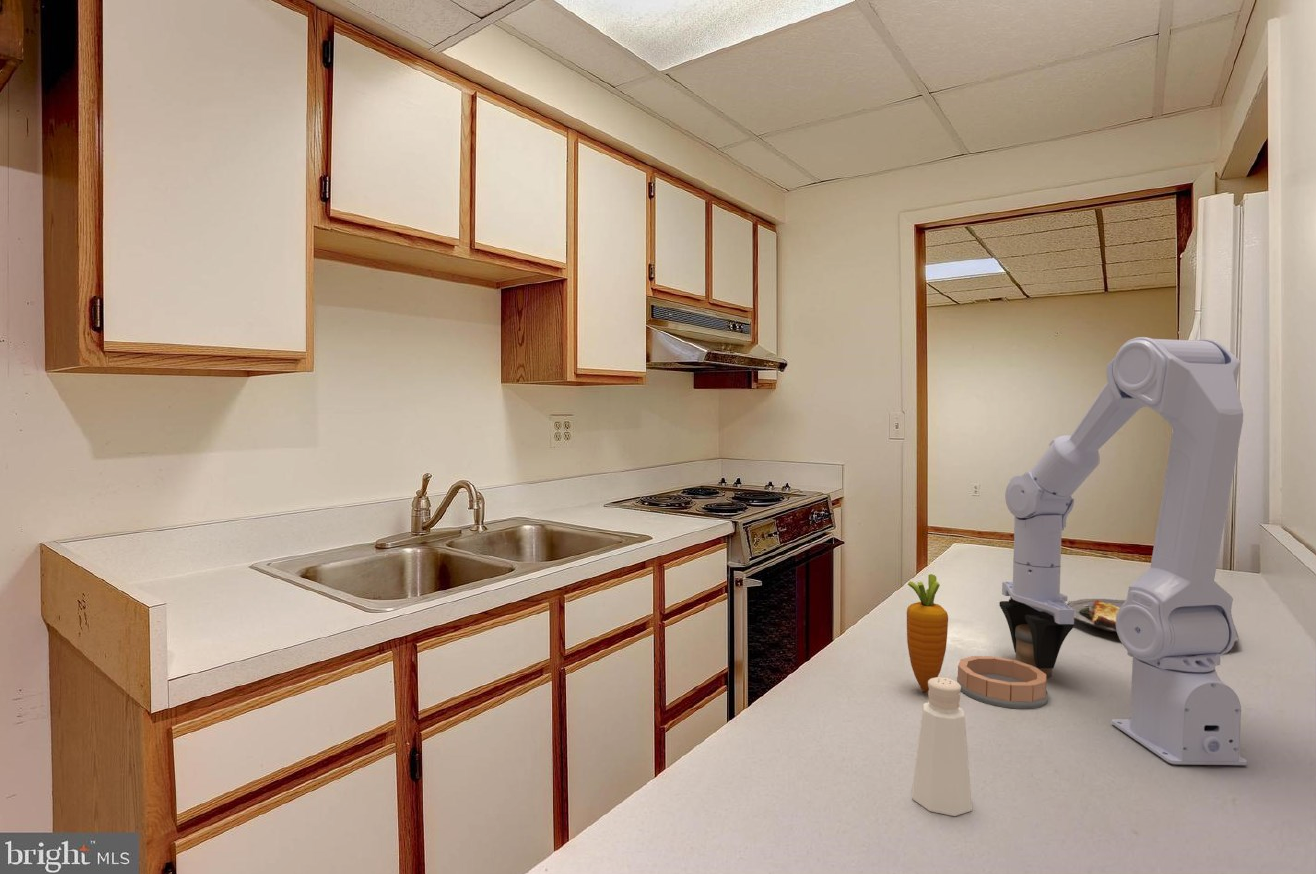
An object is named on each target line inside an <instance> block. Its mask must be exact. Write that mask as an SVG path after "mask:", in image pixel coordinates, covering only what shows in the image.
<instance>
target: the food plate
mask: <svg viewBox="0 0 1316 874" xmlns="http://www.w3.org/2000/svg"><path fill="white" fill-rule="evenodd" d="M1125 601H1126V599H1111V598H1083V599H1078V600H1077V599H1076V600H1069V601H1067V603H1066V604H1067V605H1068V606H1069V607H1070V608H1072V609H1074V621H1077V622H1078V623H1082V624H1085V625H1087V626H1090V627H1093V628H1098V629H1101V630H1104V631H1106V632H1112V633H1117V630H1116V615H1117V612H1118V610H1119V608H1120V607H1121V606H1122V605H1123V604H1124V602H1125ZM1235 630H1236V638H1235V642H1234V644H1236V643H1237V642H1238V641H1240V639H1239V634H1238V630H1237V628H1236V626H1235Z"/></svg>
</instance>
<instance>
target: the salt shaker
mask: <svg viewBox="0 0 1316 874" xmlns="http://www.w3.org/2000/svg"><path fill="white" fill-rule="evenodd" d="M928 687H929V691H928V692H927V693H928V695H927V696H928V702H925V703H923V705H922V712H921V719H920V727H919V735H918V741H917V750H916V758H915V765H914V772H913V779H912V780H913V781H912V788H911V789H912V790H911V791H912V795H911V796H912V801H914V802H916V803H917V804H919V805H920V806H921V807H922V808H925V809H926V810H928V811H929V812H932V813H936V814H942V815H946V816H951V817H956V816H961V815H963V814H967V813H970V812H972V810H973V804H972V792H971V791H972V789H971V778H970V777H971V776H970V766H969V751H968V739H967V726H966V717H965V711H964V709H963V708H961V707H960V703H959V702H961V698H960V697H961V695H960V693H961V686H960V684H959V683H958V682H957V680H953V679H951V678H948V677H942V676H938V677H936V678H931V679H930V680H929V681H928Z"/></svg>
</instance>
